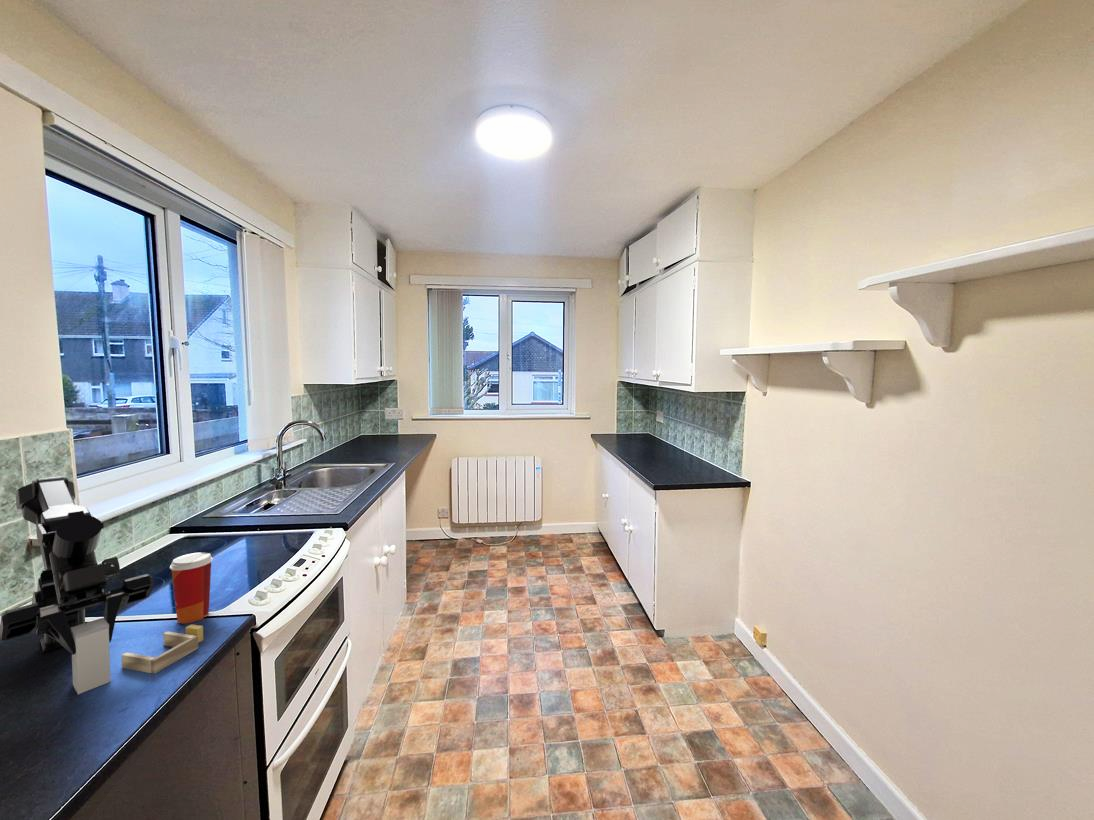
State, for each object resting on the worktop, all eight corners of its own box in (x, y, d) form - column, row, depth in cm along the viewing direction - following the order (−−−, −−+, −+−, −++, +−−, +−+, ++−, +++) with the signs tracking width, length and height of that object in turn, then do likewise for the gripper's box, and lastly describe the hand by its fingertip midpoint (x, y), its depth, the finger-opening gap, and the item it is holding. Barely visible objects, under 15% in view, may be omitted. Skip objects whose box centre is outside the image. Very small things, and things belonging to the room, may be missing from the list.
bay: (121, 667, 81) (121, 654, 81) (167, 643, 89) (167, 631, 89) (154, 673, 80) (154, 660, 80) (198, 648, 88) (197, 636, 88)
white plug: (72, 685, 76) (70, 627, 76) (105, 672, 80) (103, 617, 79) (77, 694, 74) (75, 635, 74) (111, 681, 78) (108, 624, 77)
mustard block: (185, 641, 90) (185, 627, 90) (191, 638, 91) (191, 624, 91) (197, 643, 89) (197, 629, 89) (203, 640, 91) (202, 626, 90)
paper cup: (196, 607, 104) (194, 550, 103) (222, 610, 102) (221, 552, 102) (161, 624, 96) (159, 562, 96) (189, 628, 95) (187, 566, 94)
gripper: (-2, 564, 70) (11, 653, 65) (149, 533, 86) (170, 603, 80) (-5, 598, 75) (6, 684, 69) (139, 563, 91) (157, 631, 85)
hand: (92, 647), depth 76 cm, fingers closed on white plug, 4 cm apart
